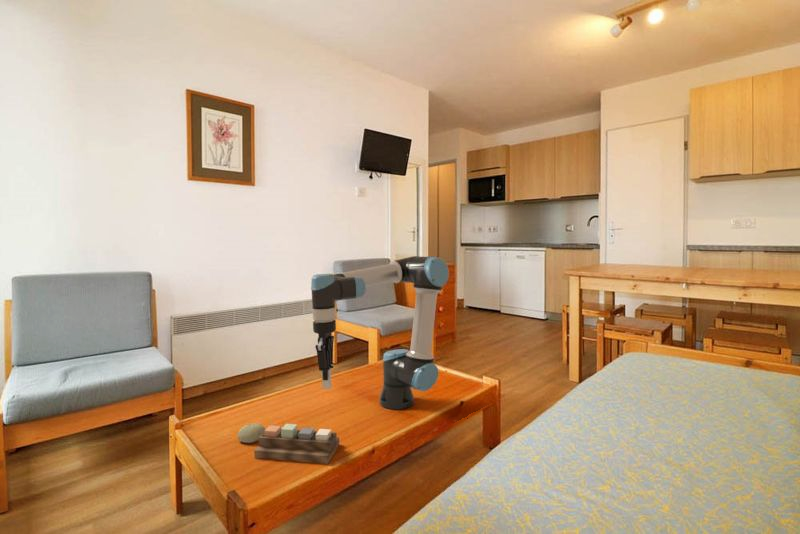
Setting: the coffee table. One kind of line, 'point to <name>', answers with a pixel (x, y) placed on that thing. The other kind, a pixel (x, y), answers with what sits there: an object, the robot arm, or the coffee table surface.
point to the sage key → (289, 431)
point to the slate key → (306, 434)
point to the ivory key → (323, 435)
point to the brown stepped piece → (297, 448)
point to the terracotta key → (272, 431)
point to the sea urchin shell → (250, 432)
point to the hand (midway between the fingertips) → (327, 387)
